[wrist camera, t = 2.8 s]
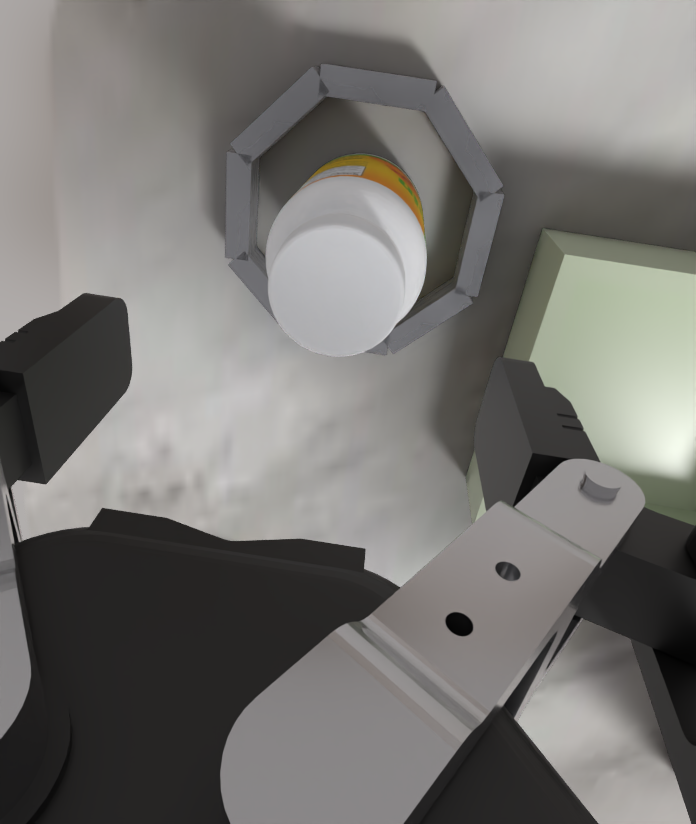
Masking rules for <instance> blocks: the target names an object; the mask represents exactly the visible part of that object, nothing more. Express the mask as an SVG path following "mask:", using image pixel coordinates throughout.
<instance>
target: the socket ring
mask: <svg viewBox="0 0 696 824" xmlns="http://www.w3.org/2000/svg"><path fill="white" fill-rule="evenodd" d="M436 83H437V81H435V80H429V79H422V78H416V77H409V76H403V75H396V74H390V73H383V72H377V71H370V70H363V69H357V68H350V67H344V66H337V65H331V64H323V63H321V70H320V68H319V67H318V66H312V67H311V68H310V69H309V70H308V71H307V72H306V73H305V74H304V75H302V76H301V77H300V78H299V79H298V80H297V81H296V82H295V83H294V84H293V85H292V86H291V87H290V88H289V89H288V90H287V91H285V92H284V93H283V94H282V95H281V96H280V97H279V98H278V99H277V100H276V101H275V102H274V103H273V104H272V105H271V106H269V107H268V108H267V109H266V110H265V111H264V112H263V113H262V114H261V115H260V116H259V117H258V118H257V119H256V120H255V121H254V122H252V123H251V124H250V125H249V126H248V127H247V128H246V129H245V130H244V131H243V132H242V133H241V134H240V135H239V136H238V137H236V138H235V139H234V140H233V141H232V142H231V143H230V145H231V146H232V147H233V148H234V149H232V150H229V151H227V158H226V237H225V257H226V258H232V259H233V260H232V261H231V262H230V263H229V264H228V265H229V267H230V268H231V269H232V270H233V271H234V272H235V274H236V275H237V276H238V277H239V278H240V279H241V281H242V282H243V283H244V284H245V285H246V286H247V288H248V289H249V290H250V291H251V292H252V293H253V295H254V296H255V297H256V298H257V299H258V300H259V302H260V303H261V304H262V305H263V306H264V307H265V309H266V310H267V311H268V312H269V313H270V314H271V316H272V317H273V318H274V319H275V320H276V318H275V317H274V314H273V312H272V309H271V306H270V302H269V296H268V275H267V269H266V257H265V256H264V255H263V254H262V253H261V251H260V250H259V249H258V248H257V246H256V243H257V220H258V196H259V172H260V157H261V156H262V155H263V154H264V153H265V152H266V151H267V150H269V149H270V148H271V147H272V146H273V145H274V144H275V143H276V142H277V141H279V140H280V139H281V138H282V137H283V136H284V135H285V134H286V133H287V132H289V131H290V130H291V129H292V128H293V127H294V126H295V125H296V124H297V123H299V122H300V121H301V120H302V119H303V118H304V117H305V116H306V115H307V114H309V113H310V112H311V111H312V110H313V109H314V108H315V107H316V106H317V105H319V104H320V103H321V102H322V101H323V100H324V99H325V98H326V97H327V96H328V97H334V98H341V99H347V100H354V101H360V102H367V103H373V104H380V105H386V106H393V107H399V108H406V109H412V110H419V111H425V113H426V114H427V116H428V117H429V119H430V121H431V122H432V124H433V126H434V127H435V129H436V130H437V132H438V134H439V135H440V137H441V138H442V140H443V142H444V143H445V145H446V147H447V148H448V150H449V151H450V153H451V155H452V156H453V158H454V160H455V161H456V163H457V164H458V166H459V168H460V169H461V171H462V172H463V174H464V176H465V177H466V179H467V181H468V182H469V184H470V185H471V187H472V189H473V190H474V192H473V196H472V201H471V205H470V209H469V213H468V218H467V222H466V226H465V230H464V235H463V239H462V243H461V247H460V252H459V256H458V260H457V264H456V269H455V273H454V277H453V278H452V279H450V280H449V281H447V282H446V283H444V284H443V285H441V286H440V287H438V288H437V289H435V290H434V291H432V292H431V293H429V294H428V295H426V296H425V297H423V298H422V299H420V300H419V301H417V302H416V303H415V304H414V305H413V307H412V308H411V309H410V311H409V312H408V313H407V314H406V316H405V317H404V318H403V319H401V320H400V321H399V322H398V323H397V324H396V325H395V327H394V329H393V330H392V331H391V332H390V334H389V335H388V336H387V337H386V338H385V339H384V340H383V341H382V342H380V343H379V344H378V345H376V346H374V347H373V348H371V349H369V350H367V351H365V352H368V353H374V354H380V355H387V349H388V348H389V349H390V350H391V352H392V353H393V354H394V353H396V352H397V351H399V350H400V349H402V348H404V347H405V346H407V345H408V344H410V343H411V342H413V341H415V340H416V339H418V338H419V337H421V336H422V335H424V334H426V333H427V332H429V331H430V330H432V329H433V328H435V327H437V326H438V325H440V324H441V323H443V322H444V321H446V320H448V319H449V318H451V317H452V316H454V315H455V314H457V313H459V312H460V311H462V310H463V309H465V308H466V307H468V306H470V305H471V304H473V301H472V298H471V296H474V297H478V294H479V290H480V286H481V283H482V279H483V275H484V271H485V267H486V264H487V260H488V256H489V252H490V248H491V245H492V241H493V237H494V233H495V229H496V226H497V222H498V218H499V214H500V210H501V207H502V203H503V199H504V193H503V192H502V191H501V189H500V188H502V187H503V184H502V182H501V181H500V179H499V177H498V176H497V174H496V172H495V171H494V169H493V167H492V166H491V164H490V162H489V161H488V159H487V157H486V155H485V154H484V152H483V150H482V149H481V147H480V145H479V144H478V142H477V140H476V139H475V137H474V135H473V134H472V132H471V130H470V129H469V127H468V125H467V123H466V122H465V120H464V118H463V117H462V115H461V113H460V112H459V110H458V108H457V107H456V105H455V103H454V102H453V100H452V98H451V96H450V95H449V93H448V91H447V90H446V88H445V86H441V87H440V88H439V89H437V90H436V91H435V88H436ZM276 322H277V320H276ZM277 323H278V322H277Z"/></svg>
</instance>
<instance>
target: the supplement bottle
mask: <svg viewBox="0 0 696 824" xmlns="http://www.w3.org/2000/svg"><path fill="white" fill-rule="evenodd" d="M426 267H427V249H426V240H425V231H424V219H423V210H422V205H421V201H420V198H419V195H418V192H417V190H416V188H415V186H414V184H413V183H412V181H411V180H410V178H409V177H408V176H407V175H406V173H405V172H404V171H403V170H402V169H400V168H399V167H398V166H397V165H395V164H394V163H392V162H391V161H389V160H387V159H385V158H382V157H380V156H376V155H372V154H362V153H359V154H349V155H344V156H341V157H338V158H335V159H333V160H331V161H330V162H328V163H326V164H325V165H323V166H322V167H321V168H319V169H318V170H317V171H316V172H315V173H314V174H313V175H312V176H311V177H310V178H309V179H308V180H307V181H306V182H305V183H304V185H303V186H302V187H301V188H300V189H299V190H298V191H297V192H296V193H295V194H294V195H293V196H292V197H291V199H290V200H289V201H288V202H287V203H286V204H285V205H284V206H283V208H282V209H281V210H280V212H279V214H278V215H277V217H276V219H275V221H274V223H273V225H272V227H271V230H270V233H269V236H268V240H267V245H266V269H267V275H268V296H269V302H270V306H271V309H272V312H273V314H274V317H275V318H276V320H277V322H278V324H279V325H280V327H281V328H282V329H283V331H284V332H285V333H286V334H287V335H288V336H289V337H290V338H291V339H292V340H294V341H295V342H296V343H298V344H299V345H300V346H302V347H304V348H306V349H307V350H310V351H312V352H315V353H318V354H321V355H326V356H334V357H343V356H352V355H356V354H359V353H363V352H365V351H367V350H369V349H371V348H373V347H374V346H376V345H378V344H379V343H380V342H382V341H383V340H384V339H385V338H386V337H387V336H388V335H389V334H390V332H391V331H392V330H393V329H394V327H395V325H396V324H397V323H398V322H399V321H400V320H401V319H403V318H404V317H405V316H406V314H407V313H408V312H409V311H410V309H411V308H412V307H413V305H414V304H415V302H416V300H417V298H418V296H419V294H420V292H421V289H422V286H423V283H424V280H425V274H426Z"/></svg>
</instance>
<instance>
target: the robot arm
mask: <svg viewBox="0 0 696 824" xmlns="http://www.w3.org/2000/svg"><path fill="white" fill-rule="evenodd" d="M131 375H132V357H131V346H130V335H129V324H128V313H127V307H126V304H125V302H124V301H123V300H122V299H121V298H115V297H108V296H102V295H95V294H89V293H84V294H82V295H80V296H79V297H78V298H76V299H75V300H73V301H72V302H70V303H69V304H68V305H66V306H65V307H63V308H62V309H61V310H59V311H57V312H54V313H51V314H48V315H45V316H42V317H39V318H36V319H34V320H32V321H31V322H29V323H28V324H26V325H25V326H23V327H22V328H21V329H19V330H18V332H14V333H13V334H12V335H10V336H9V337H7V338H6V339H5V341H1V342H0V824H598V823H597V821H596V820H595V819H594V818H593V816H592V815H591V814H590V813H589V811H588V810H587V809H586V808H585V806H584V805H583V804H582V803H581V801H580V800H579V799H578V798H577V796H576V795H575V794H574V793H573V791H572V790H571V789H570V788H569V786H568V785H567V784H566V783H565V781H564V780H563V779H562V778H561V776H560V775H559V774H558V773H557V771H556V770H555V769H554V768H553V766H552V765H551V764H550V763H549V761H548V760H547V759H546V758H545V756H544V755H543V754H542V753H541V752H540V750H539V749H538V748H537V747H536V745H535V744H534V743H533V742H532V740H531V739H530V738H529V737H528V735H527V734H526V733H525V732H524V730H523V729H522V728H521V727H520V725H519V724H518V723H517V721H518V719H519V718H520V716H521V714H522V713H523V711H524V709H525V707H526V706H527V704H528V702H529V701H530V699H531V697H532V696H533V694H534V692H535V691H536V689H537V688H538V686H539V685H540V683H541V682H542V680H543V679H544V677H545V676H546V674H547V673H548V671H549V670H550V668H551V667H552V665H553V664H554V662H555V661H556V659H557V658H558V656H559V655H560V653H561V652H562V650H563V649H564V647H565V646H566V644H567V643H568V641H569V640H570V638H571V637H572V635H573V634H574V632H575V631H576V629H577V628H578V626H579V625H580V623H581V622H582V620H583V619H585V620H588V621H590V622H593V623H595V624H597V625H600V626H602V627H604V628H607V629H609V630H612V631H614V632H616V633H619V634H621V635H623V636H626V637H628V638H631V641H632V645H633V648H634V651H635V654H636V657H637V660H638V663H639V666H640V669H641V672H642V675H643V678H644V681H645V684H646V687H647V690H648V694H649V697H650V700H651V703H652V706H653V709H654V712H655V715H656V718H657V721H658V724H659V727H660V730H661V733H662V736H663V739H664V742H665V745H666V748H667V751H668V754H669V757H670V760H671V763H672V766H673V769H674V772H675V775H676V778H677V781H678V784H679V787H680V791H681V794H682V797H683V800H684V803H685V806H686V809H687V812H688V815H689V818H690V821H691V824H696V525H695V526H694V525H691V524H689V523H686V522H683V521H680V520H677V519H674V518H672V517H669V516H666V515H663V514H660V513H657V512H655V511H652V510H650V509H648V508H646V507H644V505H645V496H644V494H643V492H642V490H641V489H640V487H639V486H638V485H637V484H636V483H635V482H634V481H633V480H632V479H631V478H630V477H628V476H627V475H625V474H624V473H622V472H621V471H619V470H617V469H615V468H613V467H611V466H609V465H606V464H603V463H601V462H600V460H599V458H598V456H597V454H596V452H595V450H594V448H593V446H592V444H591V442H590V440H589V438H588V436H587V434H586V432H585V431H583V430H584V428H583V426H582V424H581V422H580V420H579V419H577V418H578V416H577V414H576V412H575V410H574V408H573V406H572V404H571V402H570V401H569V400H568V399H567V398H566V397H564V396H563V395H562V394H561V393H560V392H559V391H558V390H556V389H555V388H552V387H545V386H544V384H543V381H542V379H541V377H540V374H539V372H538V370H537V368H536V365H535V363H534V362H530V361H523V360H517V359H510V358H504V357H498V358H497V359H496V360H495V362H494V364H493V367H492V370H491V373H490V377H489V380H488V383H487V387H486V390H485V394H484V397H483V400H482V404H481V407H480V410H479V414H478V417H477V421H476V426H475V432H474V448H475V454H476V459H477V465H478V470H479V476H480V481H481V486H482V492H483V497H484V503H485V508H486V512H485V513H484V514H483V515H482V516H481V517H480V518H479V519H477V520H476V521H475V522H474V523H473V524H472V525H471V526H470V527H468V528H467V529H466V530H465V531H464V532H463V533H462V534H461V535H459V536H458V537H457V538H456V539H455V540H454V541H453V542H451V543H450V544H449V545H448V546H447V547H446V548H445V549H444V550H442V551H441V552H440V553H439V554H438V555H437V556H436V557H435V558H433V559H432V560H431V561H430V562H429V563H428V564H427V565H426V566H424V567H423V568H422V569H421V570H420V571H419V572H418V573H417V574H415V575H414V576H413V577H412V578H411V579H410V580H409V581H408V582H406V583H405V584H404V585H403V586H402V587H401V588H400V587H398V586H397V585H395V584H394V583H392V582H390V581H389V580H387V579H385V578H383V577H381V576H379V575H377V574H375V573H373V572H371V571H368V570H365V569H364V561H365V549H363V548H357V547H351V546H344V545H338V544H331V543H325V542H318V541H312V540H305V539H282V540H255V541H228V540H224V539H221V538H218V537H216V536H213V535H210V534H208V533H205V532H203V531H200V530H197V529H195V528H192V527H189V526H187V525H184V524H181V523H179V522H176V521H173V520H171V519H168V518H163V517H157V516H150V515H144V514H138V513H131V512H125V511H118V510H112V509H105V508H102V509H101V511H100V512H99V514H98V515H97V517H96V518H95V520H94V521H93V522H92V524H91V525H90V527H82V528H74V529H66V530H60V531H56V532H51V533H46V534H43V535H39V536H36V537H32V538H29V539H27V540H24V541H23V539H22V534H21V529H20V524H19V519H18V514H17V509H16V504H15V499H14V495H13V491H12V488H11V486H12V485H13V484H14V483H15V482H16V481H17V480H21V481H27V482H34V483H40V484H47V483H48V482H49V480H50V479H51V478H52V477H53V476H54V475H55V473H56V472H57V471H58V470H59V469H60V468H61V466H62V465H63V464H64V463H65V462H66V461H67V460H68V458H69V457H70V456H71V455H72V454H73V453H74V451H75V450H76V449H77V448H78V447H79V446H80V444H81V443H82V442H83V441H84V440H85V439H86V437H87V436H88V435H89V434H90V433H91V432H92V430H93V429H94V428H95V427H96V426H97V425H98V424H99V422H100V421H101V420H102V419H103V418H104V417H105V415H106V414H107V413H108V412H109V411H110V410H111V408H112V407H113V406H114V405H115V404H116V403H117V401H118V400H119V399H120V398H121V397H122V396H123V394H124V393H125V392H126V390H127V389H128V386H129V384H130V380H131Z"/></svg>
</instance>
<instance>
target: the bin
mask: <svg viewBox="0 0 696 824" xmlns="http://www.w3.org/2000/svg"><path fill="white" fill-rule="evenodd" d="M503 357H504V358H510V359H517V360H523V361H530V362H534V363H535V365H536V368H537V370H538V372H539V374H540V377H541V379H542V381H543V384H544V386H545V387H552V388H555V389H556V390H558V391H559V392H560V393H561V394H562V395H563V396H564V397H566V398H567V399H568V400H569V401H570V402H571V404H572V406H573V408H574V410H575V412H576V414H577V416H578V418H577V419H579V420H580V422H581V424H582V426H583V428H584V430H583V431H585V432H586V434H587V436H588V438H589V440H590V442H591V444H592V446H593V448H594V450H595V452H596V454H597V456H598V458H599V460H600V462H601V463H603V464H606V465H609V466H611V467H613V468H615V469H617V470H619V471H621V472H622V473H624V474H625V475H627V476H628V477H630V478H631V479H632V480H633V481H634V482H635V483H636V484H637V485H638V486H639V487H640V489H641V490H642V492H643V494H644V496H645V505H644V507H646V508H648V509H650V510H652V511H655V512H657V513H660V514H663V515H666V516H669V517H672V518H674V519H677V520H680V521H683V522H686V523H689V524H691V525H694V526H695V525H696V252H693V251H687V250H680V249H674V248H667V247H661V246H655V245H648V244H642V243H635V242H629V241H622V240H616V239H609V238H603V237H597V236H590V235H584V234H577V233H571V232H564V231H558V230H551V229H545V228H542V231H541V234H540V238H539V241H538V244H537V247H536V251H535V254H534V257H533V260H532V264H531V267H530V270H529V273H528V277H527V280H526V283H525V286H524V290H523V293H522V296H521V299H520V303H519V306H518V309H517V312H516V316H515V319H514V322H513V325H512V329H511V332H510V335H509V338H508V342H507V345H506V348H505V351H504V355H503ZM466 483H467V490H468V497H469V504H470V512H471V519H472V524H473V523H474V522H475V521H476V520H477V519H479V518H480V517H481V516H482V515H483V514H484V513H485V512H486V508H485V503H484V497H483V492H482V486H481V481H480V476H479V470H478V465H477V459H476V454H475V449H474V452H473V456H472V459H471V462H470V465H469V469H468V472H467V475H466Z"/></svg>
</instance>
